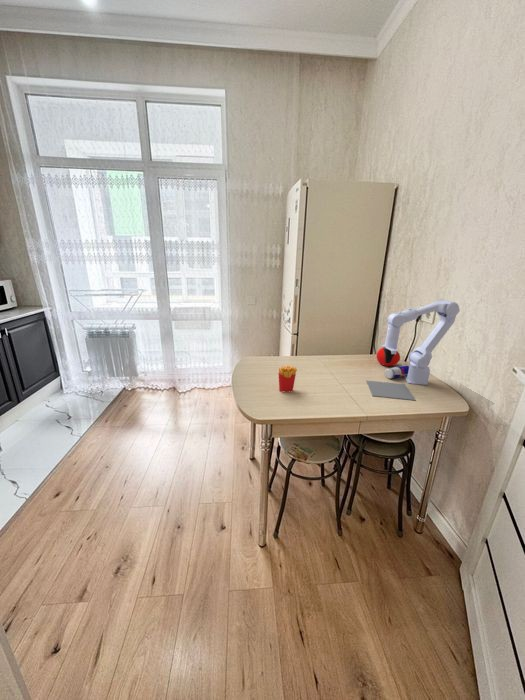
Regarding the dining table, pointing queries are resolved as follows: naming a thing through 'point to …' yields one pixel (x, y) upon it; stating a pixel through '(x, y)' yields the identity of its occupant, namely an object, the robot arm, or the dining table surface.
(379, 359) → the tomato
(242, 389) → the dining table surface
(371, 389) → the mat
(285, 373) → the french fries
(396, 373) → the beverage can
